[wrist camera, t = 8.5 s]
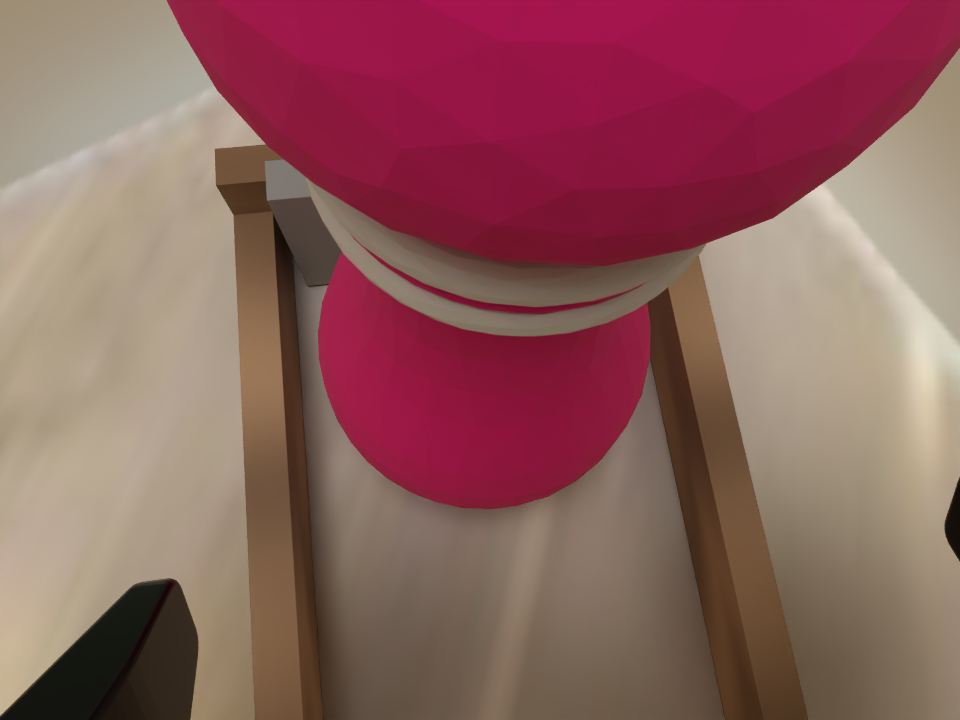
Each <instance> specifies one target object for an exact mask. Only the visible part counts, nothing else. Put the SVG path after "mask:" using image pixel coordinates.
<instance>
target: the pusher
mask: <svg viewBox="0 0 960 720" xmlns="http://www.w3.org/2000/svg"><path fill="white" fill-rule="evenodd" d="M265 175H266V193H267V202H268V204H269V206H270V208H271V210H272V212H273V214H274V216H275V218H276V221H277V223H278V225H279V227H280V229H281V231H282V233H283V235H284V237H285V239H286V242H287V244H288V246H289V248H290V250H291V252H292V254H293V256H294V258H295V260H296V263H297V265H298V267H299V269H300V271H301V273H302V275H303V277H304V279H305V281H306V284H307V286H313V285H322V284H329V282H330V280H331V277H332V274H333V272H334V269H335V266H336V263H337V261H338V258H339V257H340V255H341V253H342V251H341V249H340V247H339V246H338V244H337V243H336V241H335V240H334V238H333V237H332V235H331V234H330V232H329V231H328V229H327V227H326V226H325V224H324V222H323V221H322V219H321V216H320V214H319V212H318V210H317V208H316V206H315V204H314V202H313V200H312V198H311V195H310V191H309V188H308V184H307V181H306V177H305V176H304V175H302V174H301V173H300V172H299V171H298V170H296V169H295V168H294V167H293V166H291V165H290V164H289V163H288V162H286V161H285V160H273V161H265Z"/></svg>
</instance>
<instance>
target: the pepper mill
mask: <svg viewBox="0 0 960 720" xmlns="http://www.w3.org/2000/svg"><path fill="white" fill-rule="evenodd" d="M167 2H168V4H169V6H170V8H171V10H172V12H173V14H174V16H175V18H176V20H177V22H178V24H179V26H180V28H181V30H182V32H183V34H184V36H185V37H186V39H187V40H188V42H189V44H190V46H191V47H192V49H193V51H194V52H195V54H196V56H197V57H198V59H199V61H200V62H201V64H202V66H203V67H204V69H205V71H206V72H207V74H208V75H209V77H210V79H211V80H212V82H213V84H214V86H215V87H216V89H217V91H218V92H219V93H220V94H221V95H222V96H223V97H224V98H225V99H226V101H227V102H228V103H229V104H230V105H231V106H232V107H233V108H234V109H235V110H236V112H237V113H238V114H239V115H240V116H241V117H242V118H243V119H244V120H245V121H246V123H247V124H248V125H249V126H250V127H251V128H252V129H253V130H254V131H255V132H256V134H257V135H258V136H259V137H260V138H261V139H262V140H263V141H264V142H265V143H266V145H267V146H268V147H269V148H270V149H272V150H273V151H274V152H275V153H277V154H278V155H279V156H280V157H282V158H283V159H284V160H285V161H286V162H288V163H289V164H290V165H291V166H293V167H294V168H295V169H296V170H298V171H299V172H300V173H301V174H302V175H304V176H305V177H306V181H307V184H308V188H309V191H310V195H311V198H312V200H313V202H314V204H315V206H316V208H317V210H318V212H319V214H320V216H321V219H322V221H323V222H324V224H325V226H326V227H327V229H328V231H329V232H330V234H331V235H332V237H333V238H334V240H335V241H336V243H337V244H338V246H339V247H340V249H341V251H342V253H341V255H340V257H339V258H338V261H337V263H336V266H335V269H334V272H333V274H332V277H331V280H330V282H329V285H328V288H327V291H326V294H325V297H324V299H323V302H322V309H321V316H320V323H319V330H318V344H319V361H320V366H321V370H322V375H323V380H324V384H325V388H326V391H327V394H328V398H329V400H330V403H331V405H332V407H333V410H334V412H335V415H336V417H337V420H338V422H339V423H340V425H341V427H342V428H343V430H344V432H345V433H346V435H347V436H348V438H349V440H350V441H351V443H352V444H353V445H354V446H355V447H356V449H357V450H358V451H359V452H360V453H361V454H362V456H363V457H364V458H365V459H366V460H367V461H368V462H369V463H370V464H371V465H372V466H374V467H375V468H376V469H377V470H378V471H379V472H381V473H382V474H383V475H384V476H385V477H387V478H388V479H390V480H391V481H393V482H395V483H396V484H398V485H400V486H401V487H403V488H405V489H406V490H408V491H410V492H412V493H414V494H417V495H419V496H422V497H424V498H427V499H430V500H432V501H435V502H439V503H443V504H448V505H452V506H457V507H462V508H481V509H494V508H502V507H511V506H518V505H521V504H524V503H528V502H531V501H534V500H538V499H541V498H544V497H548V496H550V495H551V494H553V493H555V492H557V491H559V490H561V489H562V488H564V487H566V486H568V485H570V484H571V483H573V482H575V481H577V480H578V479H579V478H580V477H581V476H583V475H584V474H585V473H586V472H587V471H588V470H590V469H591V468H592V467H593V466H594V465H596V464H597V463H598V462H599V461H600V460H601V459H602V458H603V456H604V455H605V454H606V453H607V451H608V450H609V449H610V447H611V446H612V445H613V444H614V442H615V441H616V440H617V438H618V437H619V436H620V434H621V433H622V431H623V430H624V429H625V427H626V426H627V424H628V422H629V420H630V418H631V416H632V414H633V412H634V410H635V408H636V406H637V404H638V401H639V399H640V397H641V395H642V391H643V386H644V382H645V377H646V373H647V368H648V364H649V359H650V329H651V326H650V319H649V312H648V304H647V302H649V301H650V300H652V299H653V298H655V297H656V296H658V295H659V294H660V293H661V292H663V291H664V290H665V289H666V288H667V287H669V286H670V285H671V284H672V283H673V282H675V281H676V280H677V279H678V278H679V277H681V276H682V275H683V273H684V272H685V271H686V270H687V268H688V267H689V266H690V265H691V264H692V262H693V261H694V260H695V259H696V257H697V256H698V255H699V254H700V252H701V251H702V250H703V248H704V246H705V245H706V243H708V242H711V241H714V240H716V239H719V238H722V237H724V236H727V235H730V234H732V233H735V232H737V231H740V230H743V229H745V228H748V227H751V226H753V225H756V224H759V223H761V222H764V221H767V220H769V219H772V218H774V217H775V216H777V215H778V214H780V213H781V212H782V211H784V210H785V209H787V208H788V207H790V206H791V205H792V204H794V203H795V202H797V201H798V200H800V199H801V198H802V197H804V196H805V195H807V194H808V193H809V192H811V191H812V190H814V189H815V188H817V187H818V186H819V185H821V184H822V183H824V182H825V181H826V180H828V179H829V178H831V177H832V176H834V175H835V174H836V173H838V172H839V171H840V170H842V169H843V168H845V167H846V166H847V165H849V164H850V163H851V162H852V161H853V160H854V159H855V158H857V157H858V156H859V155H860V154H861V153H862V152H863V151H864V150H866V149H867V148H868V147H869V146H870V145H871V144H873V143H874V142H875V141H876V140H877V139H878V138H879V137H881V136H882V135H883V134H884V133H885V132H886V131H887V130H888V129H890V128H891V127H892V126H893V125H894V124H895V123H896V122H898V121H899V120H900V119H901V118H902V117H903V116H904V115H906V114H907V113H908V112H909V111H910V110H911V109H912V108H914V106H915V105H916V104H917V103H918V101H919V100H920V99H921V97H922V96H923V95H924V93H925V92H926V91H927V90H928V88H929V87H930V86H931V84H932V83H933V82H934V81H935V79H936V78H937V77H938V75H939V74H940V73H941V71H942V70H943V69H944V68H945V66H946V65H947V64H948V62H949V61H950V60H951V58H952V57H953V56H954V54H955V53H956V52H957V51H958V49H959V48H960V0H167Z"/></svg>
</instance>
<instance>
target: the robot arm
mask: <svg viewBox="0 0 960 720" xmlns="http://www.w3.org/2000/svg"><path fill="white" fill-rule="evenodd" d="M945 535H946V538H947V541H948V543H949V545H950V547H951V548H952V550H953V551H954V553H955V555H956V556H957V558H958V559H959V561H960V478H959V480H958V483H957V486H956V489H955V492H954V495H953V498H952V501H951V504H950V507H949V510H948V514H947V517H946V520H945ZM197 659H198V635H197V630H196V627H195V624H194V622H193V619H192V616H191V613H190V610H189V608H188V605H187V602H186V599H185V597H184V594H183V591H182V588H181V586H180V584H179V583H178V582H177V581H176V580H174V579H170V578H168V579H160V580H153V581H146V582H140V583H137V584H135V585H133V586H132V587H131V588H130V589H128V590H127V591H126V592H125V593H124V594H123V595H122V596H121V597H120V598H119V599H118V600H117V601H116V602H115V603H114V604H113V605H112V606H111V607H110V608H109V609H108V610H107V611H106V612H105V613H104V614H103V615H102V616H101V617H100V618H99V619H98V620H97V621H96V622H95V623H94V624H93V625H92V626H91V627H90V628H89V629H88V630H87V631H86V632H85V633H84V634H83V635H82V636H81V637H80V638H79V639H78V640H77V641H76V642H75V643H74V644H73V645H72V646H71V647H70V648H69V649H68V650H67V651H66V652H65V653H64V654H63V655H62V656H61V657H60V658H59V659H57V660H56V661H55V662H54V663H53V664H52V665H51V666H50V667H49V668H48V669H47V670H46V671H45V672H44V673H43V674H42V675H41V676H40V677H39V678H38V679H37V680H36V681H35V682H34V683H33V684H32V685H31V686H30V687H29V688H28V689H27V690H26V691H25V692H24V693H23V694H22V695H21V696H20V697H19V698H18V699H17V700H16V701H15V702H14V703H13V704H12V705H11V706H10V707H9V708H8V709H7V710H6V711H5V712H4V713H3V714H2V715H1V716H0V720H190V717H191V709H192V701H193V692H194V684H195V676H196V667H197Z"/></svg>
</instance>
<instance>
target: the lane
mask: <svg viewBox="0 0 960 720" xmlns="http://www.w3.org/2000/svg"><path fill="white" fill-rule="evenodd" d="M273 160H284V159H283V158H282V157H280V156H279V155H278V154H277V153H275V152H274V151H273V150H272V149H270V148H269V147H268V146H267V145H256V146H244V147H233V148H221V149H215V167H216V186H217V188H218V189H219V191H220V193H221V194H222V196H223V198H224V199H225V201H226V203H227V205H228V206H229V208H230V210H231V211H232V213H233V215H234V234H235V258H236V281H237V304H238V328H239V351H240V374H241V397H242V421H243V444H244V467H245V491H246V514H247V537H248V560H249V584H250V607H251V630H252V654H253V677H254V700H255V720H323V710H322V695H321V680H320V665H319V650H318V635H317V620H316V605H315V590H314V575H313V560H312V545H311V530H310V515H309V500H308V485H307V470H306V455H305V440H304V425H303V410H302V395H301V380H300V365H299V350H298V335H297V320H296V305H295V290H294V275H293V260H292V252H291V250H290V248H289V246H288V244H287V242H286V239H285V237H284V235H283V233H282V231H281V229H280V227H279V225H278V223H277V221H276V218H275V216H274V214H273V212H272V210H271V208H270V206H269V204H268V202H267V193H266V175H265V161H273ZM647 304H648V312H649V319H650V326H651V329H650V358H651V363H652V368H653V372H654V377H655V382H656V387H657V392H658V397H659V401H660V406H661V411H662V416H663V421H664V425H665V430H666V435H667V440H668V445H669V449H670V454H671V459H672V464H673V469H674V474H675V478H676V483H677V488H678V493H679V498H680V502H681V507H682V512H683V517H684V522H685V526H686V531H687V536H688V541H689V546H690V551H691V555H692V560H693V565H694V570H695V575H696V579H697V584H698V589H699V594H700V599H701V604H702V608H703V613H704V618H705V623H706V628H707V632H708V637H709V642H710V647H711V652H712V656H713V661H714V666H715V671H716V676H717V681H718V685H719V690H720V695H721V700H722V705H723V709H724V714H725V719H726V720H808V716H807V712H806V708H805V704H804V699H803V695H802V691H801V687H800V682H799V678H798V674H797V670H796V666H795V661H794V657H793V653H792V649H791V644H790V640H789V636H788V632H787V628H786V623H785V619H784V615H783V611H782V606H781V602H780V598H779V594H778V590H777V585H776V581H775V577H774V573H773V568H772V564H771V560H770V556H769V552H768V547H767V543H766V539H765V535H764V530H763V526H762V522H761V518H760V513H759V509H758V505H757V501H756V497H755V492H754V488H753V484H752V480H751V475H750V471H749V467H748V463H747V459H746V454H745V450H744V446H743V442H742V437H741V433H740V429H739V425H738V421H737V416H736V412H735V408H734V404H733V399H732V395H731V391H730V387H729V383H728V378H727V374H726V370H725V366H724V361H723V357H722V353H721V349H720V345H719V340H718V336H717V332H716V328H715V323H714V319H713V315H712V311H711V306H710V302H709V298H708V294H707V290H706V285H705V281H704V277H703V273H702V268H701V264H700V260H699V256H697V257H696V259H695V260H694V261H693V262H692V264H691V265H690V266H689V267H688V268H687V270H686V271H685V272H684V273H683V275H682V276H681V277H679V278H678V279H677V280H676V281H675V282H673V283H672V284H671V285H670V286H669V287H667V288H666V289H665V290H664V291H663V292H661V293H660V294H659V295H658V296H656V297H655V298H653V299H652V300H650V301H649V302H647Z"/></svg>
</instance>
